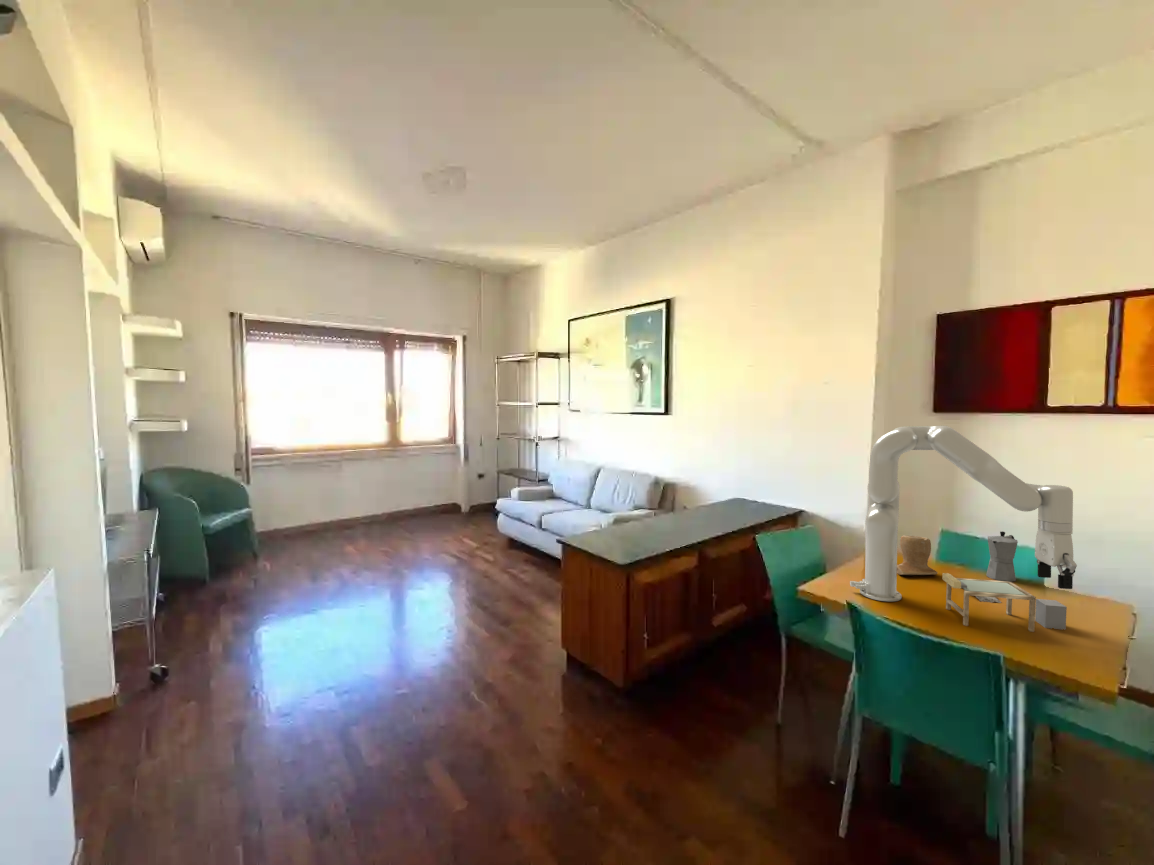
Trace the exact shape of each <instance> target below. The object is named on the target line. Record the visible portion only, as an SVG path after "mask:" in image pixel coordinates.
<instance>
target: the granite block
mask: <svg viewBox="0 0 1154 865" xmlns="http://www.w3.org/2000/svg"><path fill="white" fill-rule="evenodd" d="M1067 611H1068V610H1067V606H1066V605H1065V604H1063V603H1061V602H1060V601H1058V600H1055V599H1044V598H1043V599H1042V598H1040V599H1039V598H1036V603H1035V622H1036V623H1038V624H1039V625H1040V626H1042V627H1043V628H1045V629H1052V628H1054V630H1055V629H1056V630H1063V629H1064V631H1065V630H1067Z"/></svg>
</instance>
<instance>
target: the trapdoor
mask: <svg viewBox="0 0 1154 865" xmlns="http://www.w3.org/2000/svg"><path fill="white" fill-rule="evenodd" d="M956 578H957V577H955V576H953V575H952V574H951V573H948V572H942V578H941V579H942V581H944V582H945V583H946V584H947V583H948V584H949V585H950V586H952V589H960V590H961V589H963V591H974V592H988V593H1001V594H1014V595H1025V594H1023V593H1022V592H1020V591H1019V590H1017V589H1016V588H1014V587H1012V586H1011V585H1009V584H1008V583H1000V582H986V581H972V580H959V579H956Z"/></svg>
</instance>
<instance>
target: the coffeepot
mask: <svg viewBox="0 0 1154 865" xmlns="http://www.w3.org/2000/svg"><path fill="white" fill-rule="evenodd" d="M999 534H1000V535H991V536H989V535H987V546H988V550H989V551H988V553H989V557H990V559H989V562H988V567H987V569H986V570H987V571H986V577H987V578H990V579H992V580H994V581H1007V582H1012V583H1014V582H1016V581H1017V579H1016V578H1017V577H1016V572H1015V571H1016V570H1015V564H1014V559H1015V555H1016V552H1017V547H1018V543H1019V541H1018V539H1015V536H1014V535H1012V534H1009V535H1005V534H1006V532H1005V531H999Z"/></svg>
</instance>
